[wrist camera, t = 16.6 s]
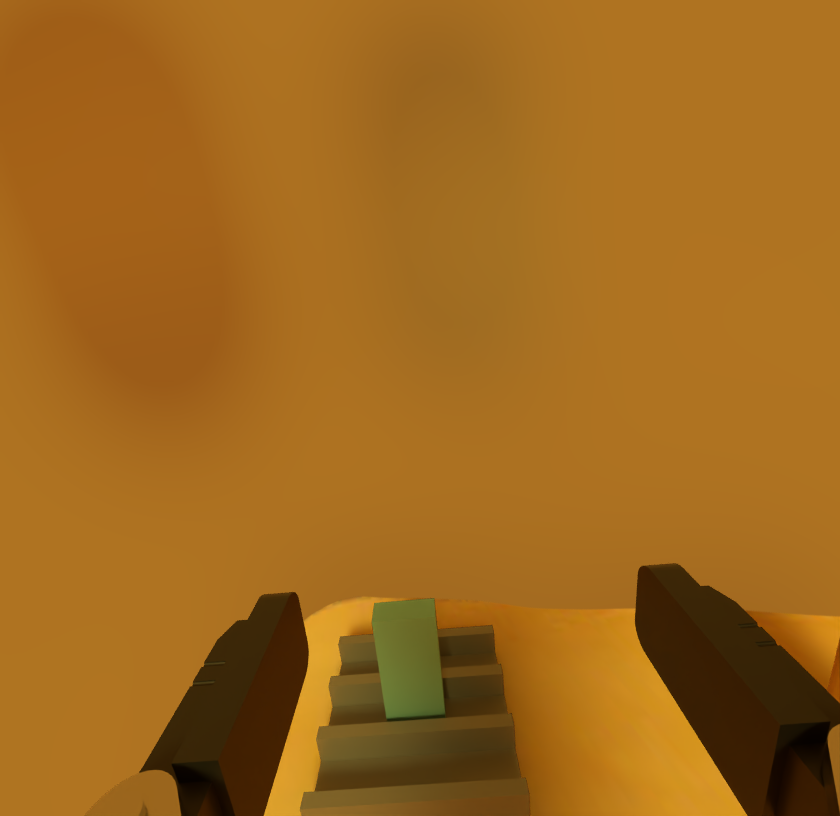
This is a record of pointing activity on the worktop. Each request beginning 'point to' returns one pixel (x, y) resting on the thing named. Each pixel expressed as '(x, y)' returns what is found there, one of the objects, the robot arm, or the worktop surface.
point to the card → (409, 659)
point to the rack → (420, 740)
